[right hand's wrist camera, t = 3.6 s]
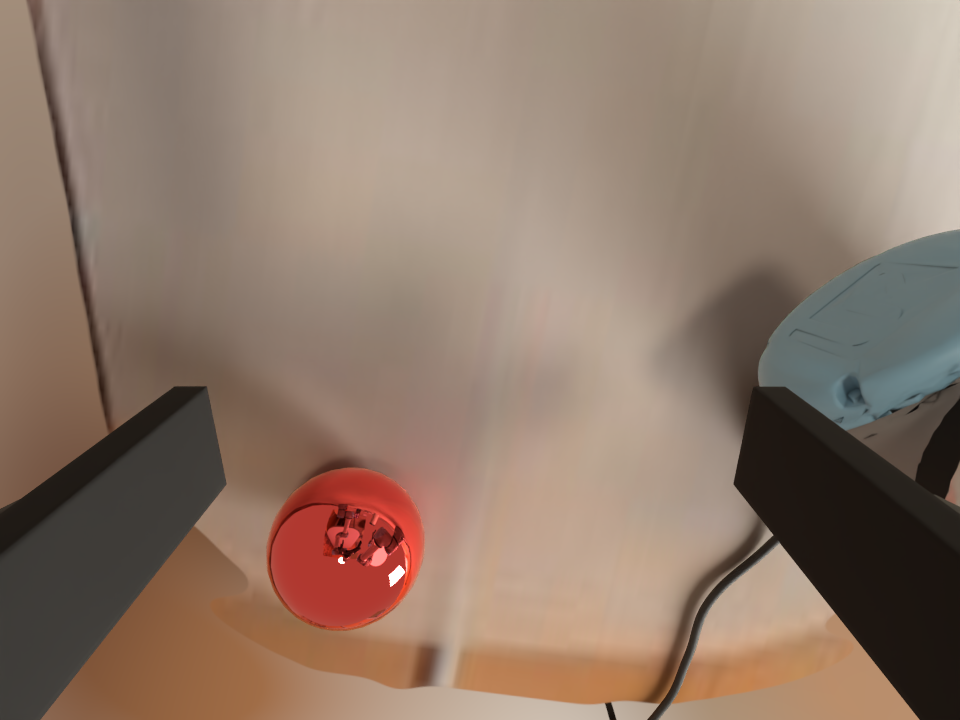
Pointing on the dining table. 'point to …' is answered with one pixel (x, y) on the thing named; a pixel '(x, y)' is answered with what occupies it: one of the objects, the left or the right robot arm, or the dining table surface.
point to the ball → (345, 549)
